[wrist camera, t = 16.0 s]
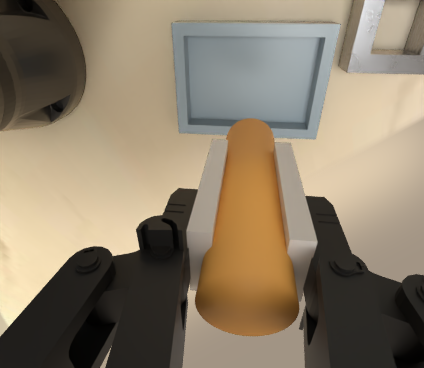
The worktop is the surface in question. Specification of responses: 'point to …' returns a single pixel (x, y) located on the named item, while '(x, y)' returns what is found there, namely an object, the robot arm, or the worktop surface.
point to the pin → (248, 243)
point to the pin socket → (364, 37)
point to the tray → (252, 74)
